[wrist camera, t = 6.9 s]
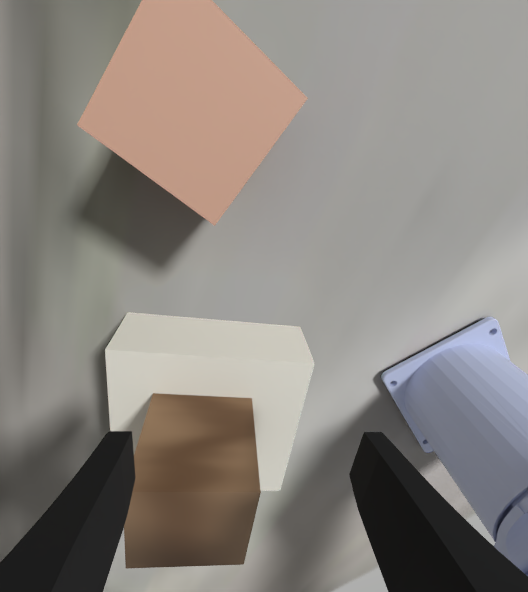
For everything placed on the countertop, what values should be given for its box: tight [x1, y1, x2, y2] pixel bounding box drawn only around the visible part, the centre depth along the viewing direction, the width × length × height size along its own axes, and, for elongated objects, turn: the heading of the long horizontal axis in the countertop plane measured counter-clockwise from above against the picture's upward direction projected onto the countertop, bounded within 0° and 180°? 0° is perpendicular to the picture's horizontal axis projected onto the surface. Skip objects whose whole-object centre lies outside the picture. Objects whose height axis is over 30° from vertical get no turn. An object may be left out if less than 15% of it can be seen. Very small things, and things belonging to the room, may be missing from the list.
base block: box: [105, 312, 315, 491], centre depth 19 cm, size 10×10×4 cm
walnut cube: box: [124, 393, 261, 568], centre depth 15 cm, size 5×5×5 cm
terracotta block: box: [77, 0, 308, 226], centre depth 12 cm, size 5×5×5 cm
